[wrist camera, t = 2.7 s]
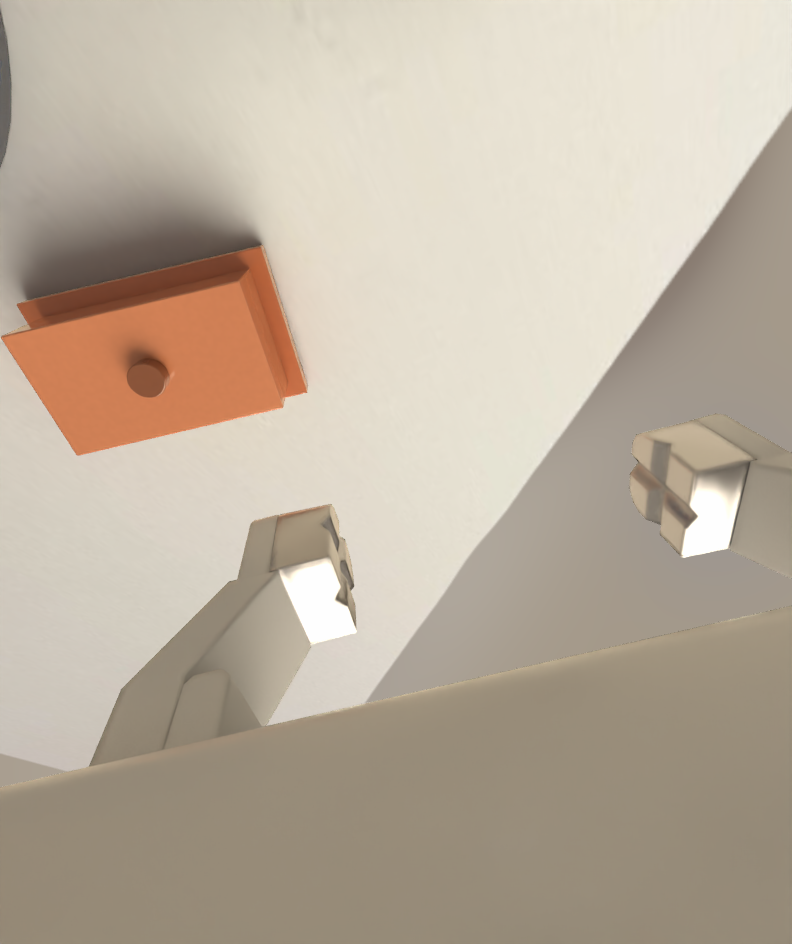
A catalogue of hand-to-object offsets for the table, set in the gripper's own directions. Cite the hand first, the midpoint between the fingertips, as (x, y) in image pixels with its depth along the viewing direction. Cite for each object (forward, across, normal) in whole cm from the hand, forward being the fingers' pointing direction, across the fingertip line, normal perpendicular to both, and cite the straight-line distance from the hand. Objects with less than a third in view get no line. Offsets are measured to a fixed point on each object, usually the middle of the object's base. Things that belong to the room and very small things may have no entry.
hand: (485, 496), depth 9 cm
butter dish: (+19, +12, 0) cm, 22 cm away
